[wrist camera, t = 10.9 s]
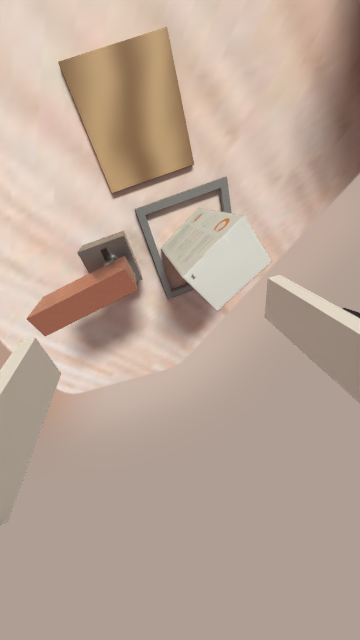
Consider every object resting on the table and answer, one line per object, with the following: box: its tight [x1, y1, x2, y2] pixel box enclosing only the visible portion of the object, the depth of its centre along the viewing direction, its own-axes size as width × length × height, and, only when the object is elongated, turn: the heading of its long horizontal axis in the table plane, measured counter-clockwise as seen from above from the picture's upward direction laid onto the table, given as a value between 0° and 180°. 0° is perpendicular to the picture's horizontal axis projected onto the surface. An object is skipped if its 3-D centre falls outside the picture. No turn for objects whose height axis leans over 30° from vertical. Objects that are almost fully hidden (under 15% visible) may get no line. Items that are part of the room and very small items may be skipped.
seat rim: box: [135, 177, 231, 299], centre depth 31 cm, size 13×14×1 cm
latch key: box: [27, 256, 138, 336], centre depth 23 cm, size 2×10×8 cm, turn 113°
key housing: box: [77, 231, 142, 281], centre depth 28 cm, size 6×6×4 cm
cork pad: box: [58, 27, 194, 193], centre depth 23 cm, size 11×11×1 cm
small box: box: [161, 208, 272, 311], centre depth 26 cm, size 8×6×13 cm
